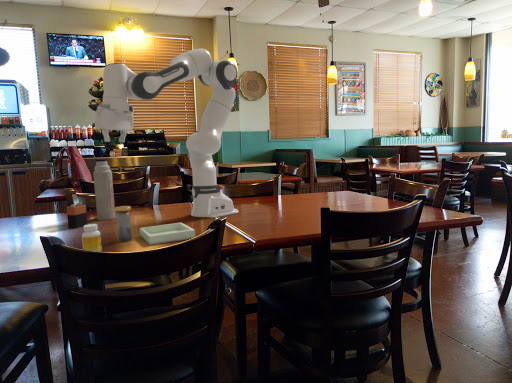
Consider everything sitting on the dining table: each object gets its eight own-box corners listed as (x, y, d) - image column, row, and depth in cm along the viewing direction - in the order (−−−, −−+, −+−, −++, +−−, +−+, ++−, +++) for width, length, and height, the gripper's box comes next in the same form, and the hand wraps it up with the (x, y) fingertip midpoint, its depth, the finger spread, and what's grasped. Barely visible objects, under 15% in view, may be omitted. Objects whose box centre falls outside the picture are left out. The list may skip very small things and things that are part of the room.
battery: (88, 225, 166) (86, 202, 164) (75, 228, 159) (73, 205, 158) (80, 224, 167) (78, 202, 166) (67, 228, 161) (65, 204, 160)
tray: (181, 229, 150) (181, 222, 149) (195, 238, 136) (194, 229, 135) (140, 235, 142) (139, 227, 142) (150, 245, 128) (149, 236, 128)
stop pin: (131, 237, 140) (129, 205, 138) (134, 240, 135) (132, 207, 134) (115, 239, 137) (113, 207, 136) (118, 243, 132) (115, 209, 131)
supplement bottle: (82, 255, 119) (79, 225, 118) (99, 251, 122) (97, 222, 121) (85, 259, 115) (82, 227, 113) (104, 255, 118) (101, 225, 117)
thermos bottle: (118, 216, 183) (114, 158, 179) (109, 220, 175) (104, 159, 172) (103, 216, 185) (98, 159, 181) (93, 220, 177) (88, 159, 173)
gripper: (105, 103, 136) (105, 141, 138) (136, 108, 156) (136, 142, 158) (90, 102, 138) (90, 140, 140) (122, 108, 158) (122, 141, 159)
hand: (114, 141), depth 149 cm, fingers open, 8 cm apart
